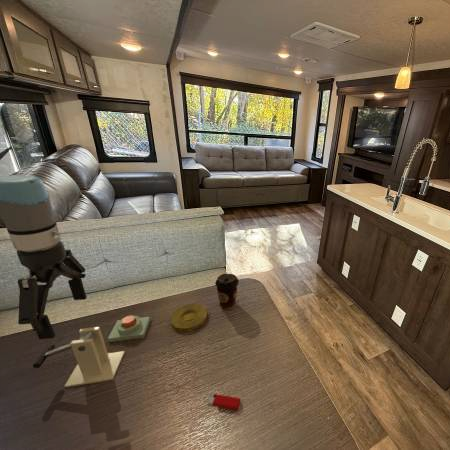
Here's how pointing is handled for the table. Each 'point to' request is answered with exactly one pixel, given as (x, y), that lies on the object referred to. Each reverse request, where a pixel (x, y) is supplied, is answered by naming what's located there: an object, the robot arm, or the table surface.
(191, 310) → the olive yellow disc
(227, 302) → the coffee cup
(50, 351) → the lever
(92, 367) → the bracket
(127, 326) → the button
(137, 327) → the button box
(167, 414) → the table surface
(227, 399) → the lighter
